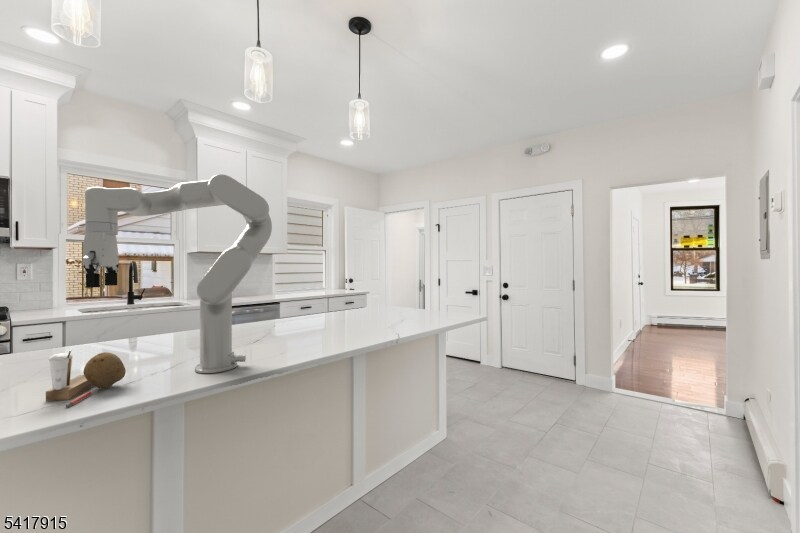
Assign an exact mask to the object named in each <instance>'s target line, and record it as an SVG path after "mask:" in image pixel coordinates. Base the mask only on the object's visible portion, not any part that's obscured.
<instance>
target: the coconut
mask: <svg viewBox="0 0 800 533" xmlns="http://www.w3.org/2000/svg"><path fill="white" fill-rule="evenodd" d="M83 375H84V376H85V378H86V379H87V380H88V381H89V382H90V383H91V384H93V385H94V387H95V388H97V389H101V390H102V389H109V388H110V387H112V386H113V385H114V384H116V383H117V382H119V381H122V379H123V378H124V377H125V376H126V367H125V365H124V363H123V360H121V358H120V357H119V356H118V355H117V354H115V353H112V352H107V351H105V352H99V353H98V354H96V355H94V356H92V357H91V358H90V359H89V360H87V362H86V364H85V366H84V367H83Z"/></svg>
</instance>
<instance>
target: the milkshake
mask: <svg viewBox="0 0 800 533" xmlns="http://www.w3.org/2000/svg"><path fill="white" fill-rule="evenodd" d="M71 353H72V350H69V351H68V352H61V353H56V354H53V355H50V357H49V358H48V363H49V368H50V374H51V375H50V376H51V383H52V384H51V385H52V388H53V390H63V389H66V388H69V386H70V380H71V374H72V373H71V371H72V365H73V357H74V356H73V354H71Z"/></svg>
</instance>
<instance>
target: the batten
mask: <svg viewBox="0 0 800 533" xmlns="http://www.w3.org/2000/svg"><path fill="white" fill-rule="evenodd" d="M93 386H94V385H93V384H91V383H90V382H89V381H88V380H87V379H86V378H85V376H84V374H79V375H77V376H75V377H74V378H70V386H69V388H66V389H63V390H53V387H52V388H50V389H47V390H46V391H45V402H55V401H66V400H67V401H69V400H71V399H73V398H74V397H76V396H78V395H80V394H82V393H84V392H85V391H87V390H89V389H90V388H93ZM94 387H95V386H94Z"/></svg>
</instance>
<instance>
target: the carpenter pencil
mask: <svg viewBox="0 0 800 533" xmlns="http://www.w3.org/2000/svg"><path fill="white" fill-rule="evenodd" d="M91 395H92V391H87V392H84V393H83V394H82V395H80V396H78V397H76V398H74V399H73V400H70V401H69V402H68V403H67V404H65V406H64V407H65V408H67V409H68V408H70V407H72V406H74V405H76V404H77V403H79V402H81V401H83V400H84V399H86V398H88V397H90V396H91Z"/></svg>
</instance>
